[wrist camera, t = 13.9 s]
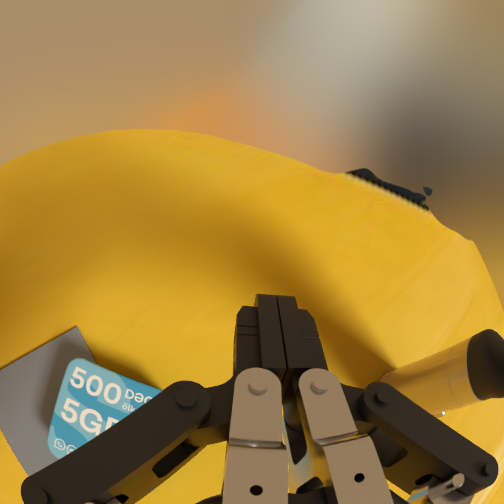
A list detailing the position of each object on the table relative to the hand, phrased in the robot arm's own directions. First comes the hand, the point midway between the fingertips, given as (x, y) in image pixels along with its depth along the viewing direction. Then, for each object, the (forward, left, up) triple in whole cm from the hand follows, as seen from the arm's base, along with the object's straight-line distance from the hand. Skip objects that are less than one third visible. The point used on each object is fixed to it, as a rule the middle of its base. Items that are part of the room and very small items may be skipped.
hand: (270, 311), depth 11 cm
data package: (-3, +16, -21) cm, 27 cm away
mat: (+6, +18, -24) cm, 30 cm away
